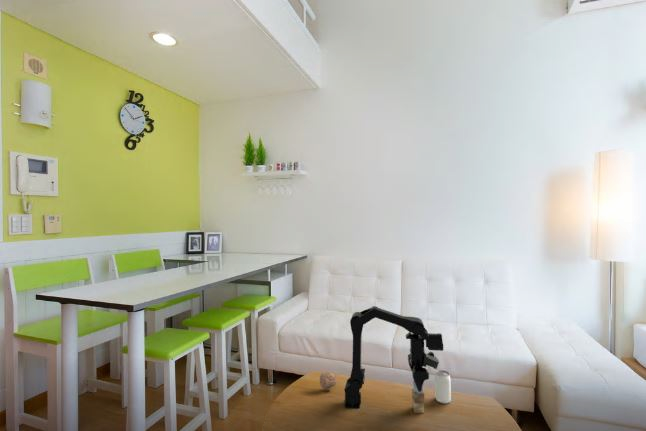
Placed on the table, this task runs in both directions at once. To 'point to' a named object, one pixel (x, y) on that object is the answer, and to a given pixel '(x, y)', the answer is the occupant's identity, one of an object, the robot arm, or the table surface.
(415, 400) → the tower top
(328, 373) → the brown wrinkled rounded piece
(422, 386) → the pale blue rounded blob
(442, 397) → the can
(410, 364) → the robot arm
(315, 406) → the table surface
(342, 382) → the table surface
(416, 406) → the tower base
